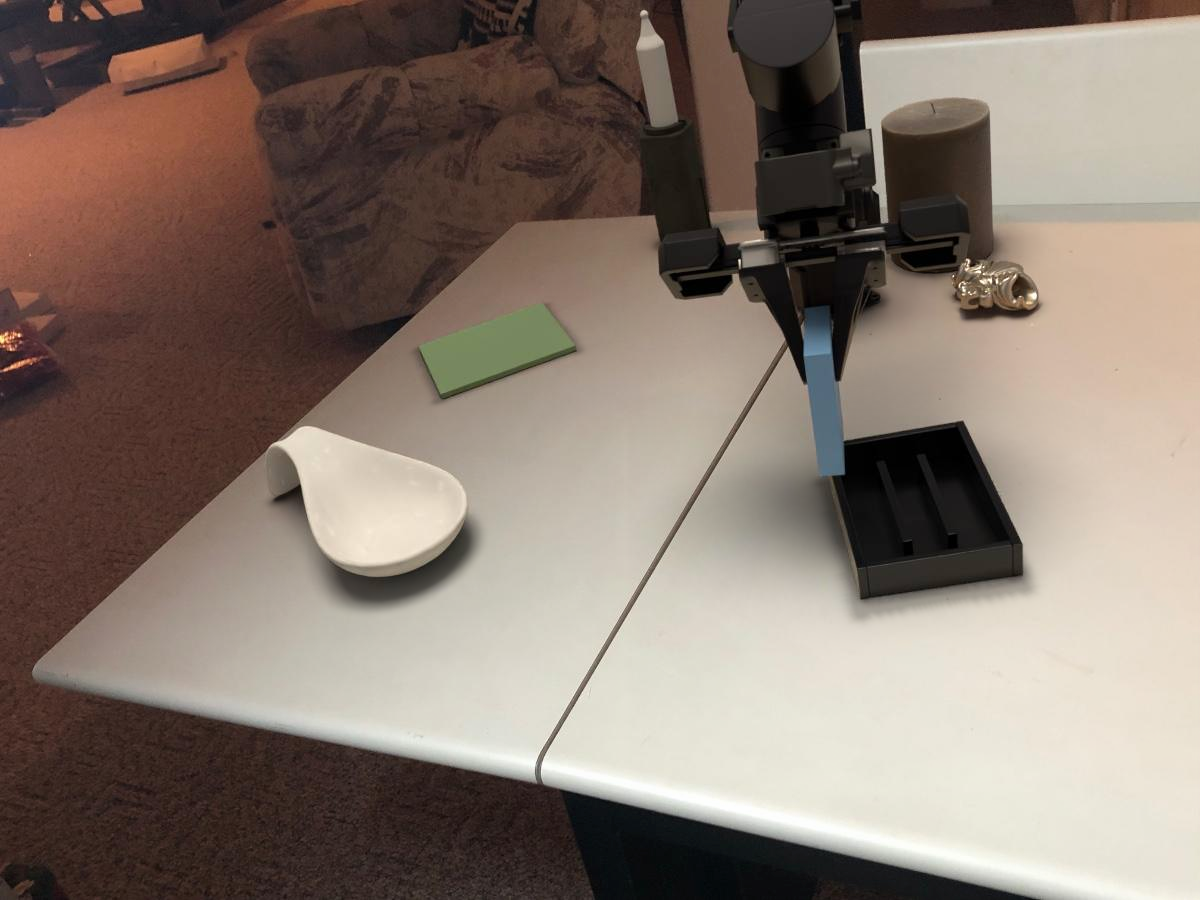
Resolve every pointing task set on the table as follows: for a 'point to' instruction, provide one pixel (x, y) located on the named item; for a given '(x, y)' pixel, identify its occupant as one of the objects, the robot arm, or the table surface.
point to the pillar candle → (941, 162)
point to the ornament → (994, 285)
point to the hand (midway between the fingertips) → (821, 381)
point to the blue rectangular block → (823, 391)
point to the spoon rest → (368, 501)
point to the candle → (669, 145)
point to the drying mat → (495, 349)
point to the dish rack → (922, 513)
